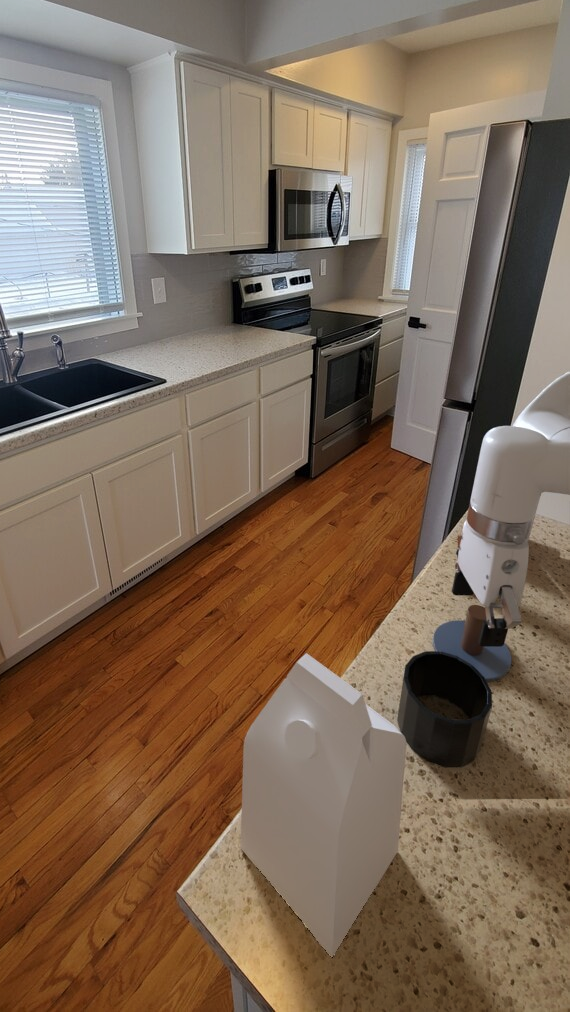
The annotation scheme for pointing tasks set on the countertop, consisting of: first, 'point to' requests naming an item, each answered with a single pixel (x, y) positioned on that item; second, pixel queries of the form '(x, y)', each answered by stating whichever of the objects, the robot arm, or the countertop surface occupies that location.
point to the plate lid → (473, 644)
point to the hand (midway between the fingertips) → (475, 617)
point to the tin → (434, 732)
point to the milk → (322, 798)
